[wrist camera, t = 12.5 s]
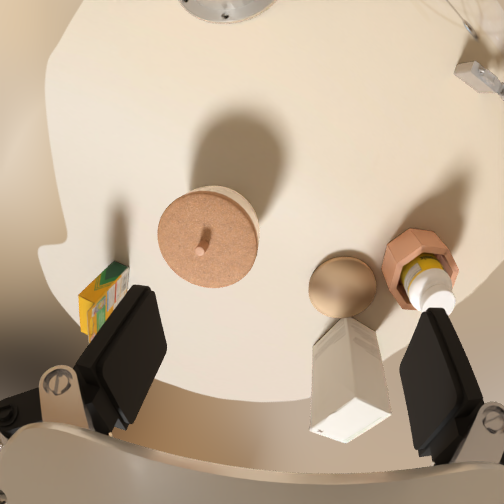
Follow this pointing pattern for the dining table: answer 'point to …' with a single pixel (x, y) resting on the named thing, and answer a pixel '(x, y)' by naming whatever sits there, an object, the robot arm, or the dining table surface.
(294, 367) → the dining table surface
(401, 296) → the terracotta octagonal planter pot
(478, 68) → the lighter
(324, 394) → the skincare box
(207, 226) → the lidded jar
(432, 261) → the supplement bottle
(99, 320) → the crayon box
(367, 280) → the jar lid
